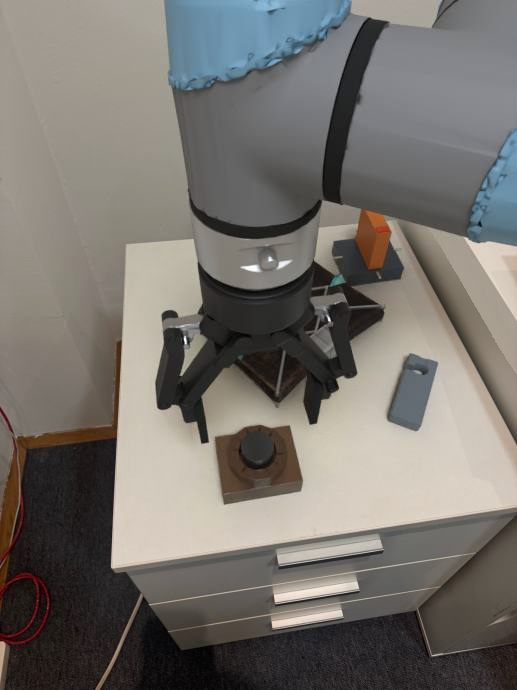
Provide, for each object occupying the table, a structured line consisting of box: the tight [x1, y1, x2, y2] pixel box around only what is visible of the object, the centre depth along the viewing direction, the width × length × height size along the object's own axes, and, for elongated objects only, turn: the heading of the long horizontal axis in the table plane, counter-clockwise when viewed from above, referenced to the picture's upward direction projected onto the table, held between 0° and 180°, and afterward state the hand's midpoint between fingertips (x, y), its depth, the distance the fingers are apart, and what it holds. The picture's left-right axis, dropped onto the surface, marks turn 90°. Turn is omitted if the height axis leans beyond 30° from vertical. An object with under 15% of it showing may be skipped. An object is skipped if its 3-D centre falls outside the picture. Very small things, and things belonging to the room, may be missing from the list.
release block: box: [214, 424, 304, 505], centre depth 56 cm, size 9×7×5 cm
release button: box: [241, 431, 274, 468], centre depth 53 cm, size 4×4×2 cm
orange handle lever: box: [354, 209, 393, 270], centre depth 74 cm, size 7×2×7 cm, turn 10°
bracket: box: [387, 352, 439, 432], centre depth 63 cm, size 4×10×2 cm, turn 156°
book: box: [199, 261, 386, 409], centre depth 69 cm, size 22×17×5 cm
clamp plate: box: [331, 229, 405, 287], centre depth 78 cm, size 11×11×3 cm
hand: (257, 421), depth 48 cm, fingers open, 10 cm apart
